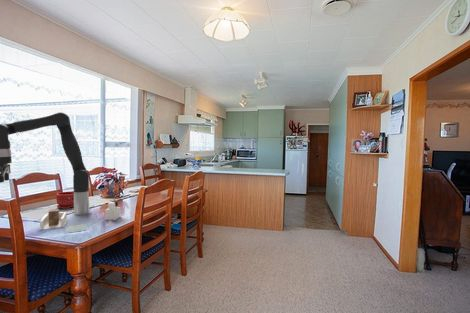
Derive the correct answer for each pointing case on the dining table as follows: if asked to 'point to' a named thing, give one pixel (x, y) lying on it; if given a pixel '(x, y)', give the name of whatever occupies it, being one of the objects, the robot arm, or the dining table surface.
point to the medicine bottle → (112, 211)
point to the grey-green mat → (76, 228)
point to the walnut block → (53, 217)
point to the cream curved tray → (62, 221)
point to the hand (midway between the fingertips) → (4, 181)
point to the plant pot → (65, 199)
